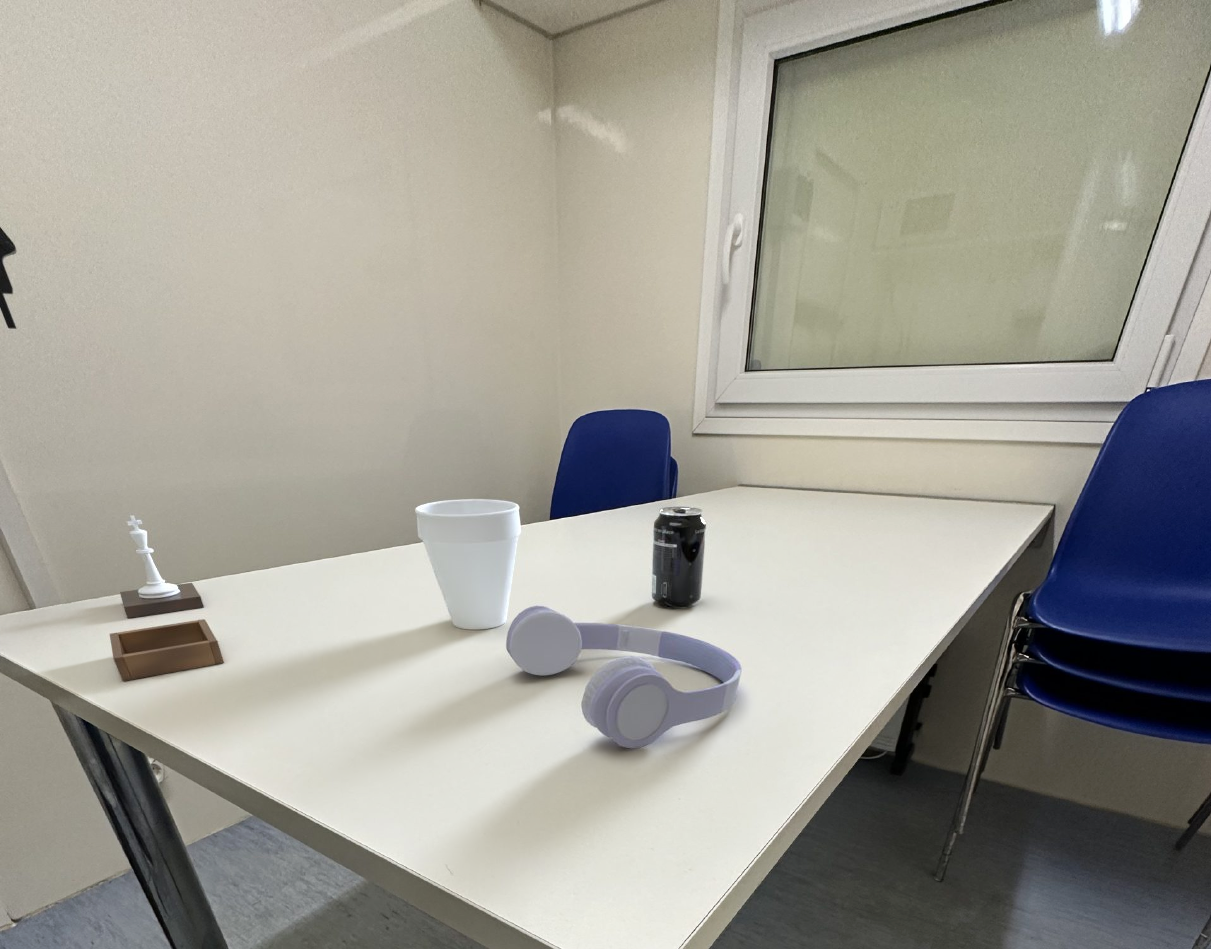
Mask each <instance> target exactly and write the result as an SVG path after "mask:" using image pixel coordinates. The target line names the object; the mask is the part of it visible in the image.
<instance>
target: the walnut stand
mask: <svg viewBox="0 0 1211 949" xmlns="http://www.w3.org/2000/svg"><path fill="white" fill-rule="evenodd" d="M176 585H177V586H178V589H179V590H180V592H179V593H178V594H176V595H173V596H169V597H163V598H154V599H146V598H141V597H139V593H138V590H139V589H133V590H125V591H120V592H119V595H120V598H121V602H122V606H123V609H124V612H125V615H126V617H127V619H133V618H141V617H147V616H154V615H161V614H168V613H174V612H182V611H188V610H194V609H203V608H204V607H205V606H204V603H203V600H202V599H203V598H202V597H201V594H200V593H199V592H198V590H197V588H196V587H195V585H194V584H193V582H187V583H178V584H176Z"/></svg>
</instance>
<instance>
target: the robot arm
mask: <svg viewBox="0 0 1211 949" xmlns="http://www.w3.org/2000/svg"><path fill="white" fill-rule="evenodd" d="M16 254H17V247H16V245H15V243H14V242H13V240H12V239H11V238H10V237H9V235H8V234H7V233H6V232H5V231H4V230H3V228H2V227H1V226H0V311H1V314H2V317H3V319H4V321H5V322H4V323H5V324H6V326H7V328H8V329H10V330H11V329H14V330H17V326H16V323H15V320H14V318H13V316H12V313H11V310H10V307H9V305H8V303H7V300H6V298H5V295H14V288H13V285H12V283H11V280H10V278H9V275H8V272H7V270H6V267H5V264H4V259H5V258H7V257H10V256H13V255H16Z"/></svg>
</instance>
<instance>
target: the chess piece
mask: <svg viewBox="0 0 1211 949" xmlns="http://www.w3.org/2000/svg"><path fill="white" fill-rule="evenodd" d="M129 518H130V520H129V521H125V523H126V526H128V527H130V526H132V528H133V529H132V530H131V531H129V532H128V535H129V536H130V537H131V539H132V540H133V542H134V543H135V544H136V546H137V547H138V549H136V550H135V554H138V555H141V557H142V562H143V565H144V569H145V575H146V580H147V581H146V582H145V584H147V585H144V586H142V587H141V588H139V589H137V590H138V593H139V597H141V598H146V599H154V598H163V597H169V596H173V595H176V594H178V593H179V592H180V590H179V589H178V586H177V585H178V584H173V583H169V582H166V580H165V579H163V578H162V576H161V574H160V572H159V570H158V568H157V567H156V564H155V562H154V560H153V558H152V556H151V553H154V552H155V550H154V549H153V548H152V547H149V546H148V531H147V530H146V529H141V528H140V527H139V525H143V520H142V519H136V516H135V515H129Z"/></svg>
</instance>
